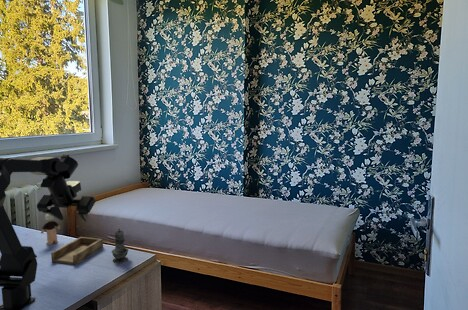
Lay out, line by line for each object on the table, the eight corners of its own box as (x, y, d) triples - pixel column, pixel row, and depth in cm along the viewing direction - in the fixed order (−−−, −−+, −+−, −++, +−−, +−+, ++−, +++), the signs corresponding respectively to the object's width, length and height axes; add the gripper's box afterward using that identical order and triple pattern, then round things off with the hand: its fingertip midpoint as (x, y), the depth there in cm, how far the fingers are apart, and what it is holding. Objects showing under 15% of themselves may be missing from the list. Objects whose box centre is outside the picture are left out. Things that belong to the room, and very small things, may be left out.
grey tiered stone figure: (111, 258, 129) (110, 226, 128) (128, 255, 131) (127, 224, 130) (112, 264, 124) (110, 232, 122) (129, 262, 126) (128, 230, 124)
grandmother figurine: (55, 239, 147) (53, 210, 145) (62, 240, 146) (60, 211, 144) (39, 246, 140) (37, 215, 138) (46, 247, 139) (44, 216, 137)
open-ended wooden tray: (75, 264, 123) (75, 255, 123) (51, 261, 126) (51, 252, 125) (103, 247, 139) (102, 239, 138) (81, 245, 141) (80, 236, 141)
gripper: (95, 173, 122) (107, 204, 131) (45, 171, 124) (61, 203, 134) (81, 195, 113) (95, 227, 123) (27, 194, 115) (45, 225, 125)
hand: (74, 220), depth 126 cm, fingers open, 9 cm apart
